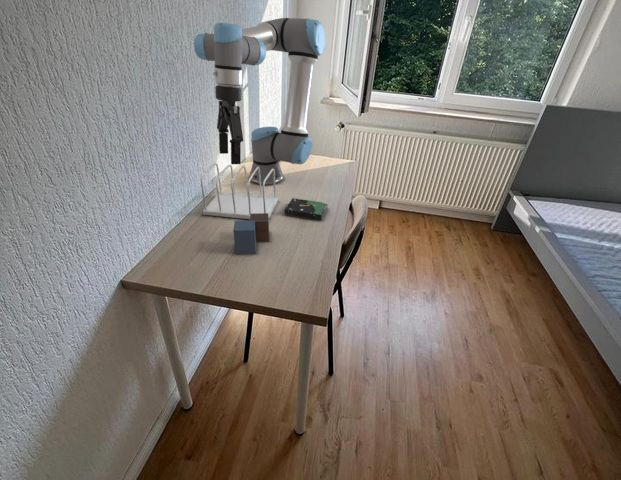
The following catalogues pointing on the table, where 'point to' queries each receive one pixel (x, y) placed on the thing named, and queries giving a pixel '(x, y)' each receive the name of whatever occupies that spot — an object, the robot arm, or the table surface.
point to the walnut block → (261, 226)
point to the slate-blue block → (245, 237)
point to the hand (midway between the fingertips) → (229, 158)
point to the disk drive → (306, 209)
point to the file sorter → (239, 198)
